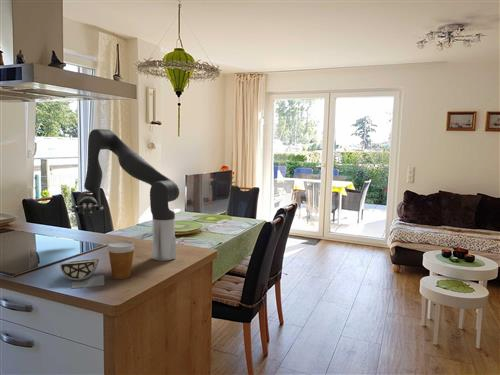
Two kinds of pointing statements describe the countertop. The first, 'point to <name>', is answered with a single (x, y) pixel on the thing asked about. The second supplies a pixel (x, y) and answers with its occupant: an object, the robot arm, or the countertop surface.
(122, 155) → the robot arm
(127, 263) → the disposable coffee cup
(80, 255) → the countertop surface
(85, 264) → the food container
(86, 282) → the mat
